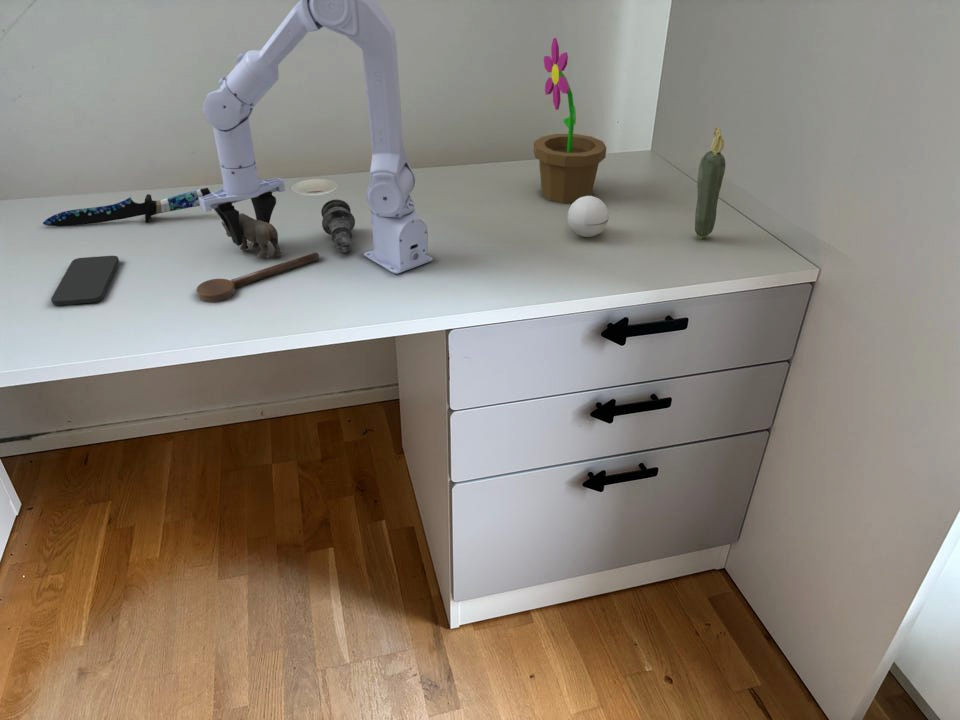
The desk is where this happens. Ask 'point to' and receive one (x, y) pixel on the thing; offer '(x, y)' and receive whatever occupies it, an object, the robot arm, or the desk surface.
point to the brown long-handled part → (246, 279)
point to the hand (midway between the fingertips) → (250, 239)
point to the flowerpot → (566, 144)
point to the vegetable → (709, 186)
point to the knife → (127, 209)
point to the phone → (85, 280)
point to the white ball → (588, 216)
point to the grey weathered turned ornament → (338, 223)
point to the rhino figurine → (257, 235)
